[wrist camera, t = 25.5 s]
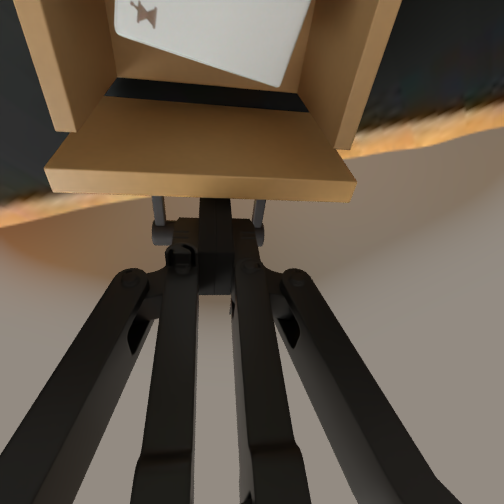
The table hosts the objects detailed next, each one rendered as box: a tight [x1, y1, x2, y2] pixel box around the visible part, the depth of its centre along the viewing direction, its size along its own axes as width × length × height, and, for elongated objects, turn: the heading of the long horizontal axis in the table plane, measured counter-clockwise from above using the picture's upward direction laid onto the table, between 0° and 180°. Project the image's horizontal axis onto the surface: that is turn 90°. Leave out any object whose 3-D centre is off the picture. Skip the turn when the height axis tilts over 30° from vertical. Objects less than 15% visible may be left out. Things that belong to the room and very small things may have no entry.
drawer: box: [13, 0, 402, 246], centre depth 14 cm, size 22×14×9 cm, turn 174°
